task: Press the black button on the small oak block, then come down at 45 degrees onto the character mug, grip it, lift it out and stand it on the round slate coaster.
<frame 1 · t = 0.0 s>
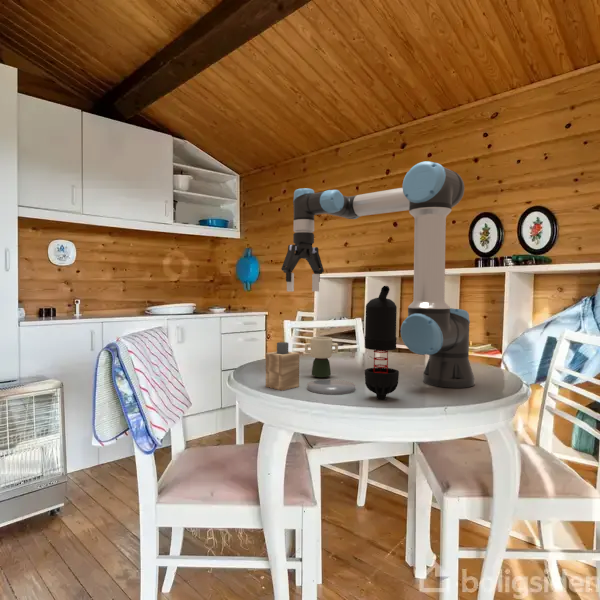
hand: (303, 291, 161), 28 cm above the table, tool pointing down, fingers open, 13 cm apart
coaster: (331, 388, 129), on the table
release button: (282, 359, 131), point 8 cm above the table, slide at 0.0 cm
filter: (380, 398, 119), on the table
button block: (282, 386, 131), on the table
character mug: (321, 377, 146), on the table
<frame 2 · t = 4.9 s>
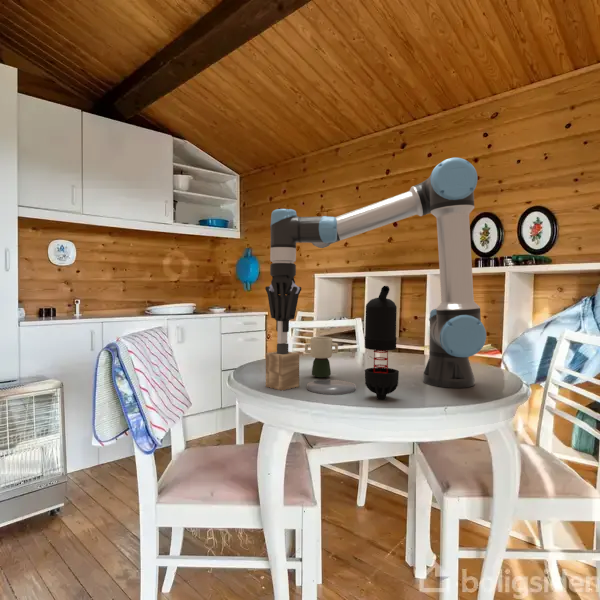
hand: (282, 342, 131), 13 cm above the table, tool pointing down, fingers closed
release button: (282, 360, 131), point 8 cm above the table, slide at 0.3 cm, touching gripper
everything else where it was.
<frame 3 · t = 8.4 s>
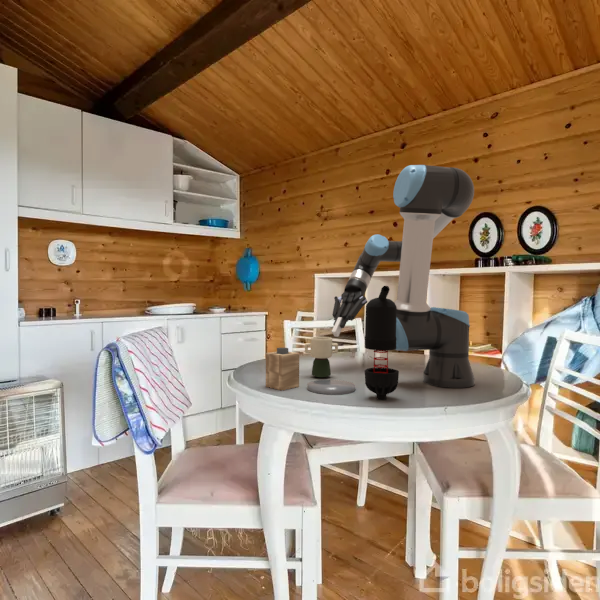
hand: (334, 334, 151), 14 cm above the table, tool tilted 45°, fingers closed
release button: (282, 365, 131), point 6 cm above the table, slide at 1.6 cm
everything else where it was.
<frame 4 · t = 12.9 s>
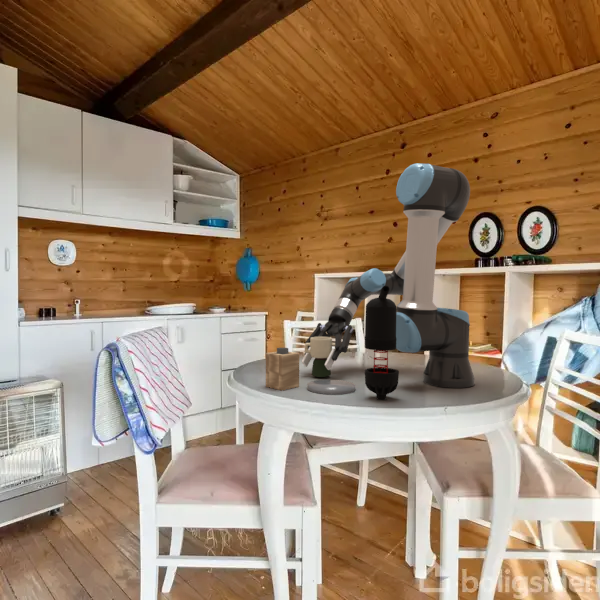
hand: (315, 365, 143), 4 cm above the table, tool tilted 45°, fingers closed on character mug, 8 cm apart
character mug: (321, 377, 146), on the table, touching gripper
everything else where it was.
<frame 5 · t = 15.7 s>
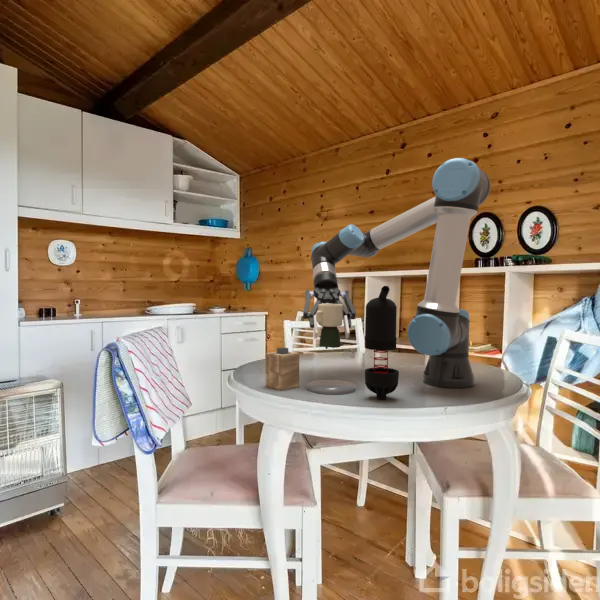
hand: (331, 335, 127), 16 cm above the table, tool tilted 45°, fingers closed on character mug, 8 cm apart
character mug: (329, 349, 130), point 11 cm above the table, touching gripper
everything else where it was.
when the fingers open (7 cm above the table, at t = 18.4 s): character mug drops 1 cm, resting on coaster.
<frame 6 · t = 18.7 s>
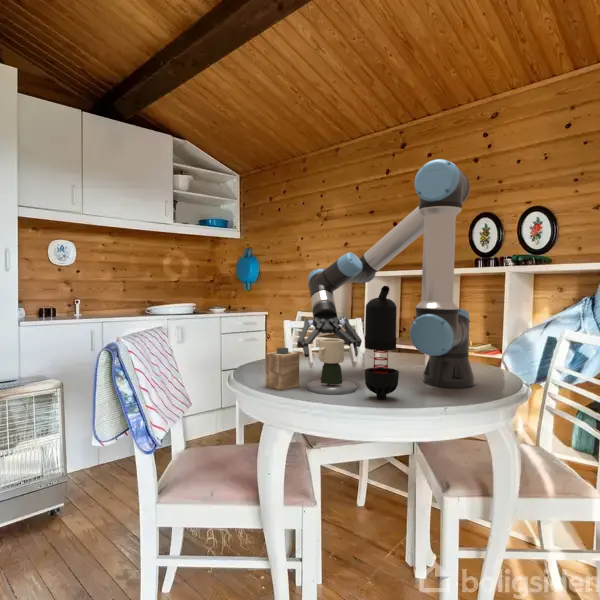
hand: (333, 365, 126), 7 cm above the table, tool tilted 45°, fingers open, 12 cm apart
character mug: (331, 385, 129), point 1 cm above the table, touching coaster
everything else where it was.
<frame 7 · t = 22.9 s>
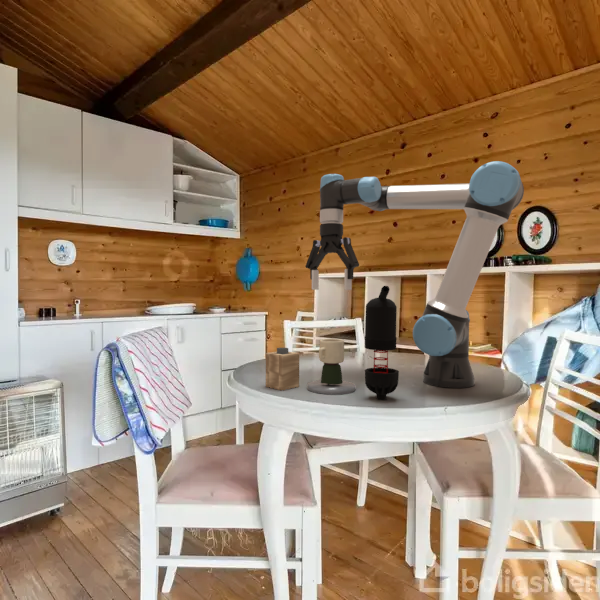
hand: (331, 289, 144), 29 cm above the table, tool pointing down, fingers open, 13 cm apart
nothing on the table moved.
at the end: character mug inside the target area on the coaster (0.2 cm from its centre), point 1.0 cm above the coaster's base; character mug tilted 0°; release button slide at 1.6 cm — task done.
